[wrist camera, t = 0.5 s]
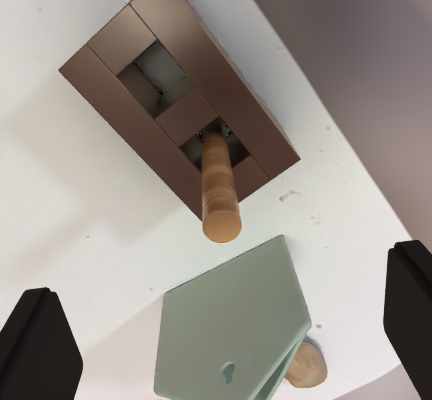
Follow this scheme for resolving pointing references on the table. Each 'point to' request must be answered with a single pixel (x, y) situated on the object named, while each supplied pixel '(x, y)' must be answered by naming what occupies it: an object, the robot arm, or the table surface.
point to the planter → (232, 329)
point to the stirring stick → (218, 186)
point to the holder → (178, 99)
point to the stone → (307, 367)
